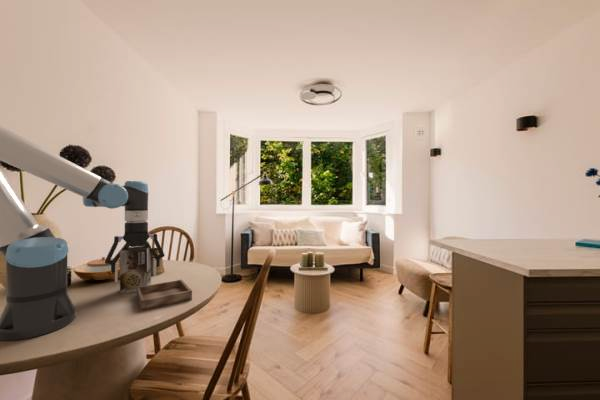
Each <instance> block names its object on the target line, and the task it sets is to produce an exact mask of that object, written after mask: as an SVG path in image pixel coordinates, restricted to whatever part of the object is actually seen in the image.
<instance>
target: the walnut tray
mask: <svg viewBox="0 0 600 400" xmlns="http://www.w3.org/2000/svg"><path fill="white" fill-rule="evenodd" d="M136 298H137V302H138V305H139V308H140V310H141V311H146V310H151V309H156V308H160V307H164V306H169V305H174V304H179V303H182V302H187V301H192V300H193V290H192V289H191V287H189V285H187V284H186V283H185V282H184V280H183V279H178V280H177V279H176V280H171V281H165V282H159V283H154V284H151V285H147V286H141V287H137V292H136Z"/></svg>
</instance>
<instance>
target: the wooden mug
mask: <svg viewBox="0 0 600 400" xmlns="http://www.w3.org/2000/svg"><path fill="white" fill-rule="evenodd" d="M146 242H147V244H148V245H149V246H151V245H150V243H149V240H147V241H146ZM142 246H144V244H143V245H142ZM151 248H152V249H153V250H154V251H155V252H156V254H157V255H159V254H160V253H159V251H158V249H157V247H151ZM154 258H155V257H154V255H153V254H152V253H151V276H153V259H154ZM163 260H164V259H163V257H161V258H160V259H159V267H156V276H158V275H162V274H163V273H165V271H166V270H165V267H164V261H163Z"/></svg>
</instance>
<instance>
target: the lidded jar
mask: <svg viewBox="0 0 600 400" xmlns="http://www.w3.org/2000/svg"><path fill="white" fill-rule="evenodd" d="M113 258H114V257H111V259H110V260H113ZM105 259H106V257H105V256H101V258H97V259H94V260H93V259H91V260H89V261H88V262H86V263H87V264H86V266H87V273H88V272H102V271H109V270H111V264H108V263H107V264H106V263H105ZM119 262H120V259H118V261H117V262H116V263H118V264H119Z"/></svg>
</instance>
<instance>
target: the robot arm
mask: <svg viewBox="0 0 600 400" xmlns="http://www.w3.org/2000/svg"><path fill="white" fill-rule="evenodd" d="M0 161H1V162H3V163H5V164H8V165H10V166H11V167H12V166H13V167H15V168H17V169H19V170H22V171H24V172H27V173H28V174H30V175H33V176H35V177H38V178H40V179H41V180H44V181H46V182H48V183H51V184H53V185H55V186H57V187H60V188H62V189H63V190H66V191H69V192H72V193H73V194H76V195H78V196H81V197H82V203H83V206H85V207H90V208H107V209H117V208H120V207H124V221H125V223H124V234H123V236H120V235H119V236H118V235H115V236H114V238H113V243H112V246H111V248H110V250H109V251H108V253H107V255H106V257H105V258H106V259H105V263H106V264H107V263H108V264H111V273H115V275H114V283H118V280H119V279H118V275H119V274H118V273H119V271H118V270H119V261H118V260H120V250H127V249H128V247H137V246H142V245H143V244H144V246H145V247H149V251H150V252H151V253H152V254H153V255H154V257H155V258H154V259H153V275H152V276H153V277H157V275H156V267H159V259H160V258H161V257H162V258H163V257H165V253H164V250H163V248H162V247H161V244H160V242H159V240H158V234H157V233H155V232H154V233H152V234H149V223H148V221H149V195H150V194H149V186H148V183H147V182H146V181H141V180H140V181H139V180H138V181H137V180H126V181H124V184H123V185H120V184H117V183H114V182H111V181H110V180H108V179H105V178H103V177H101V176H99V175H98V174H96V173H94V172H93V171H90V170H88V169H86V168H84V167H82V166H79V165H78V164H76V163H74V162H72V161H70V160H68V159H66V158H65V157H63V156H60V155H58V154H56V153H55V152H52V151H50V150H48V149H46V148H44V147H43V146H41V145H39V144H37V143H35V142H33V141H31V140H29V139H27V138H25V137H23V136H21V135H19V134H17V133H15V132H13V131H11V130H10V129H8V128H5V127H3V126H1V125H0ZM148 239H151V240H152V241H153V243H154V245H155V248H157V249H158V251H159V253H160V254H159V255H157V254H156V252H155V251H154V250H153V249H152V248H153V247H152V246H151V245H150V246H151V247H150V246H149V245H148V244H147V242H146V241H148ZM122 240H123V241H124V242H125V244H124V245H123V246H122V247H121V249H120V250H119V251H118V253H117V254H116V255H115V256H114V257H113V255H114V253H115V251H116V249H117V247H118V245H119V243H120V242H122ZM68 253H69V246H68V242H67V241H66V240H65V239H63V238H61V237H55V235H54V233H53V232H52V231H51V229H50V228H49V227H48V226H46V225H42V224H39V223H38V222H37V220H36V219H35V217H34V216H33V214H32V213H31V210H29V209H28V207H27V205H26V204H25V202H24V200H23V199H22V198H21V196H20V195H19V193H18V192H17V190H16V189H15V188H14V186H13V184H12V183H11V181H10V180H9V179H8V178H7V176H6V175H5V173H4V172H3V170H2V168H1V167H0V254H1V255H2V256H3V258H4V259H5V261H6V263H5V264H6V265H5V266H6V268H5V269H6V272H5V275H6V283H5V284H6V290H5V291H6V294H5V295H6V300H5V306H4V308H3V311H2V313H1V315H0V341H18V340H25V339H30V338H34V337H38V336H39V337H40V336H43V335H46V334H49V333H52V332H55V331H58V330H60V329H62V328H64V327H66V326H67V325H70V324H71V323H72V322H73V321H75V319H76V308H75V306H74V304H73V301H72V300H71V297H70V295H69V292H68ZM111 258H113V260H110V259H111ZM117 261H118V263H116V262H117Z"/></svg>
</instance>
